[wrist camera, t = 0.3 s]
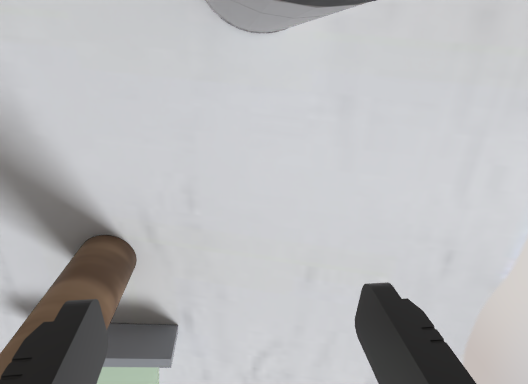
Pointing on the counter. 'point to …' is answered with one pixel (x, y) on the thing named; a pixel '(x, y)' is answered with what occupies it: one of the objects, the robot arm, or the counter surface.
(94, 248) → the walnut canister
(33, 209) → the counter surface
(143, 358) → the low wall
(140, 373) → the pad
